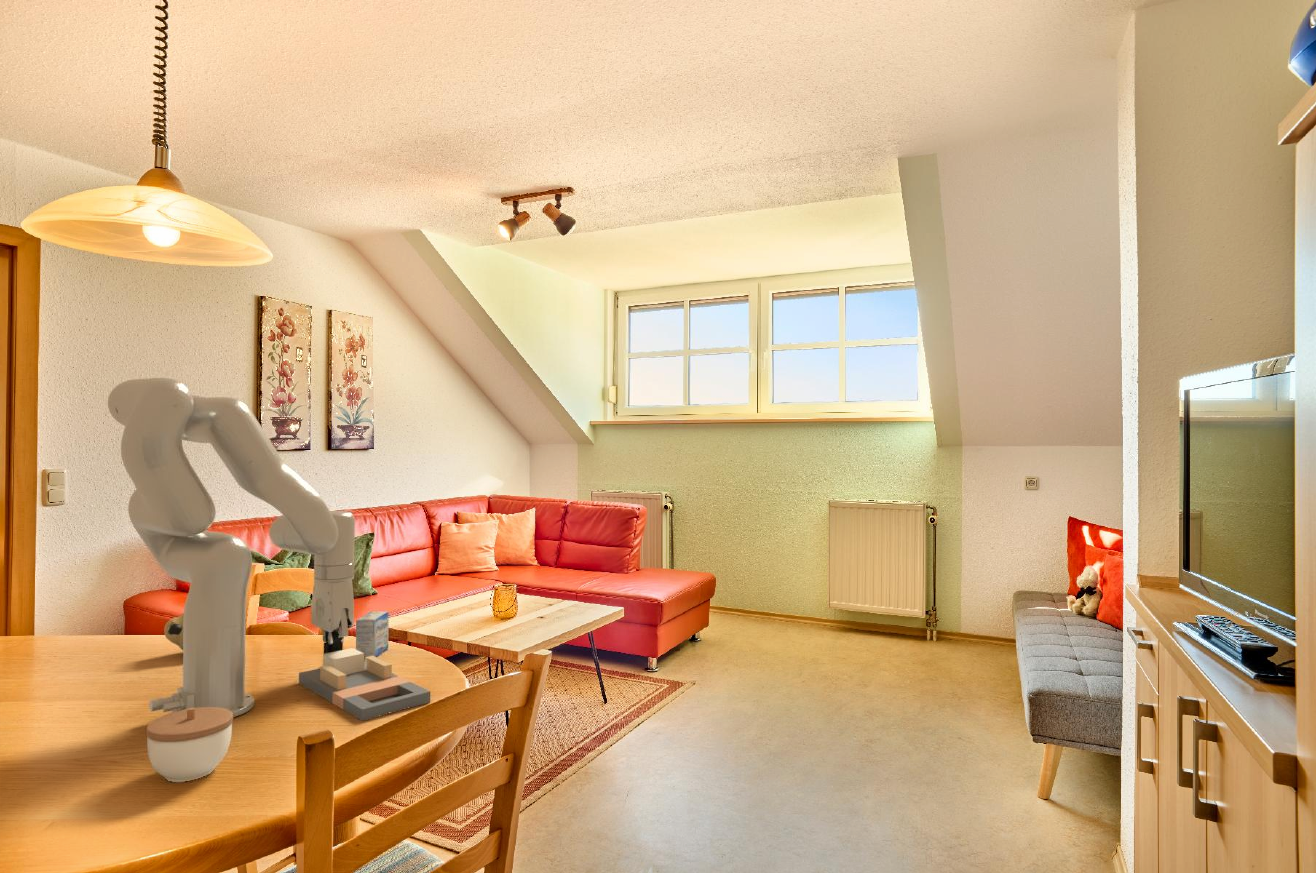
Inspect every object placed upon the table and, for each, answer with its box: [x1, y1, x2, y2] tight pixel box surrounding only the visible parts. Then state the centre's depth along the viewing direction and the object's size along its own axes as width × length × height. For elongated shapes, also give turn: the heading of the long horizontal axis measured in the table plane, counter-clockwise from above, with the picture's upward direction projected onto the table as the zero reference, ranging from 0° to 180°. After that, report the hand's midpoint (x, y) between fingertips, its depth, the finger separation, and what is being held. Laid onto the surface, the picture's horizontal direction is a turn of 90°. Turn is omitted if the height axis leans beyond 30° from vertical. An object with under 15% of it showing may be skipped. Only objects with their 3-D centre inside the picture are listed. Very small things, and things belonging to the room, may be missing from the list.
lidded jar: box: [145, 707, 234, 783], centre depth 109 cm, size 11×11×9 cm
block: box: [322, 647, 365, 674], centre depth 149 cm, size 6×5×4 cm
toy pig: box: [163, 612, 184, 651], centre depth 166 cm, size 10×12×11 cm
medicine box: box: [355, 611, 390, 659], centre depth 168 cm, size 8×4×9 cm, turn 179°
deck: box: [298, 656, 431, 722], centre depth 143 cm, size 13×28×4 cm, turn 47°
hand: (333, 661), depth 152 cm, fingers closed
